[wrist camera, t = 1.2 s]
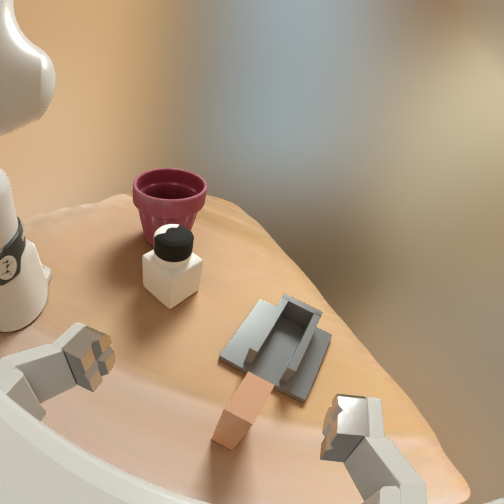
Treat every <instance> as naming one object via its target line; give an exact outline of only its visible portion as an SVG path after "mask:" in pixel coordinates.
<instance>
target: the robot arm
mask: <svg viewBox="0 0 504 504" xmlns="http://www.w3.org/2000/svg"><path fill="white" fill-rule="evenodd" d="M55 83H56V77H55V69H54V66H53V63H52V61H51V59H50V58H49V56H48V55H47V54H46V53H45V52H44V51H43V50H42V49H40V48H38V47H37V46H35V45H34V44H32V43H31V42H30V41H29V40H28V39H27V38H26V36H25V35H24V34H23V33H22V31H21V29H20V28H19V26H18V23H17V21H16V18H15V14H14V7H13V0H0V136H1V135H4V134H8V133H11V132H13V131H15V130H17V129H19V128H22V127H24V126H26V125H28V124H30V123H32V122H34V121H36V120H39V119H40V118H41V117H42V115H43V114H44V113H45V111H46V110H47V108H48V106H49V104H50V102H51V100H52V97H53V93H54V90H55ZM51 275H52V273H51V270H50V268H49V267H47V266H45V265H43V264H42V263H41V262H40V259H39V256H38V253H37V251H36V248H35V245H34V243H31V242H30V241H29V240H27V239H25V236H24V230H23V226H22V224H21V221H20V219H19V218H18V217H17V215H16V210H15V206H14V202H13V196H12V191H11V185H10V180H9V178H8V176H7V175H6V173H5V172H4V171H3V170H2V169H1V168H0V331H1V332H11V331H16V330H19V329H21V328H23V327H25V326H27V325H28V324H30V323H31V322H32V321H33V320H35V319H36V318H37V316H38V315H39V314H40V313H41V311H42V310H43V308H44V306H45V303H46V300H47V295H48V289H47V286H48V282H49V280H50V278H51ZM111 343H112V342H111V339H110V336H109V335H107V334H104V333H102V332H100V331H97V330H95V329H93V328H91V327H88V326H86V325H84V324H82V323H79V322H77V323H74V324H73V325H72V326H71V327H70V328H69V329H68V330H67V331H66V332H64V333H63V334H62V335H61V336H60V337H59V338H58V339H57V340H56V341H55V342H54V343H53V344H52V345H51V344H45V345H42V346H39V347H35V348H32V349H28V350H25V351H22V352H18V353H15V354H11V355H8V356H4V357H3V358H2V359H0V504H211V503H207V502H204V501H201V500H197V499H194V498H191V497H188V496H185V495H182V494H179V493H176V492H173V491H171V490H168V489H165V488H162V487H160V486H157V485H155V484H152V483H150V482H148V481H145V480H143V479H140V478H138V477H136V476H134V475H131V474H129V473H127V472H125V471H123V470H121V469H119V468H117V467H115V466H113V465H111V464H109V463H107V462H105V461H103V460H101V459H99V458H97V457H96V456H94V455H92V454H90V453H88V452H87V451H85V450H83V449H82V448H80V447H78V446H77V445H75V444H73V443H72V442H70V441H68V440H67V439H65V438H64V437H62V436H61V435H59V434H58V433H56V432H55V431H53V430H52V429H50V428H49V427H47V426H46V425H45V424H43V423H42V422H40V421H41V420H42V419H43V417H44V416H45V415H46V412H45V410H44V408H43V407H42V405H41V402H44V401H46V400H48V399H50V398H52V397H54V396H56V395H58V394H60V393H62V392H64V391H66V390H69V389H71V388H73V387H75V386H77V385H79V386H81V387H83V388H85V389H88V390H90V391H92V392H94V391H95V390H96V389H97V387H98V386H99V385H100V384H101V382H102V376H103V375H106V374H109V372H110V371H111V370H112V368H113V365H114V362H115V354H114V351H113V350H112V348H111V347H110V344H111ZM322 433H323V435H324V436H325V438H324V440H323V442H322V443H321V454H320V460H328V461H336V462H344V465H345V467H346V469H347V471H348V472H349V474H350V476H351V478H352V480H353V482H354V483H355V485H356V487H357V489H358V491H359V493H360V494H361V496H362V498H363V500H364V502H363V503H362V504H427V493H426V483H425V482H424V480H423V479H422V478H421V477H420V476H419V474H418V473H417V472H416V471H415V469H414V468H413V467H412V466H411V464H410V463H409V462H408V461H407V460H406V458H405V457H404V456H403V455H402V453H401V452H400V451H399V450H398V448H397V447H396V446H395V445H394V443H393V442H392V441H391V440H390V438H387V437H385V433H384V422H383V413H382V404H381V400H380V398H372V397H364V396H353V395H344V394H336V395H335V397H334V399H333V402H332V407H330V408H329V409H328V411H327V413H326V416H325V419H324V424H323V432H322ZM484 504H504V497H503V498H500V499H496V500H494V501H490V502H487V503H484Z"/></svg>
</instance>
